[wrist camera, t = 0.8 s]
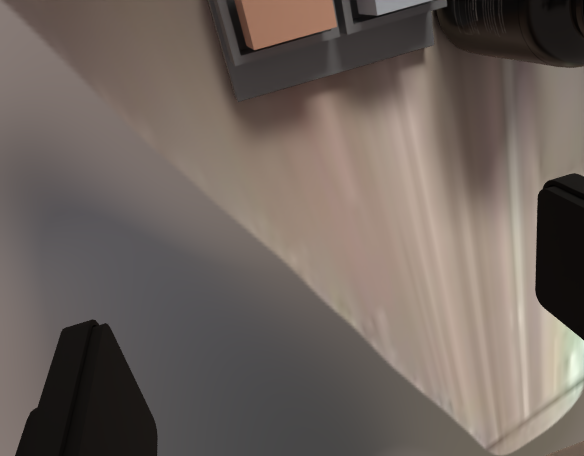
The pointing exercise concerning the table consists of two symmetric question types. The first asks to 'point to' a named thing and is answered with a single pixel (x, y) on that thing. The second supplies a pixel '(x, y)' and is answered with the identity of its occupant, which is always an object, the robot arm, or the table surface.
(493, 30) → the supplement bottle
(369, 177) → the table surface
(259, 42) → the terracotta key
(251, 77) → the keypad
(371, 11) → the slate key
